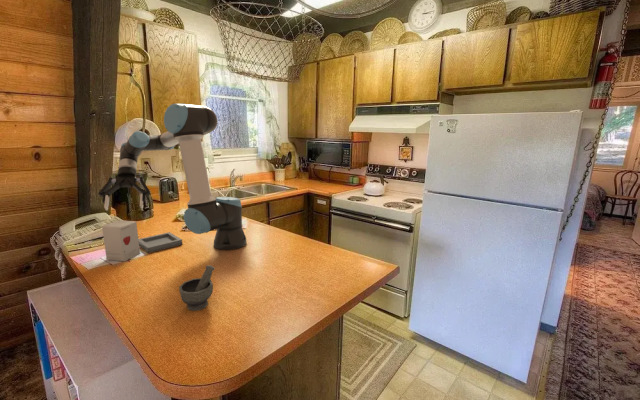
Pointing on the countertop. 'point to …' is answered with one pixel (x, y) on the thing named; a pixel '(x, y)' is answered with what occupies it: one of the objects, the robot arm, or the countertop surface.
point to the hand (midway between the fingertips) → (123, 208)
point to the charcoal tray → (159, 242)
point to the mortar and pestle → (197, 290)
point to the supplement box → (121, 240)
